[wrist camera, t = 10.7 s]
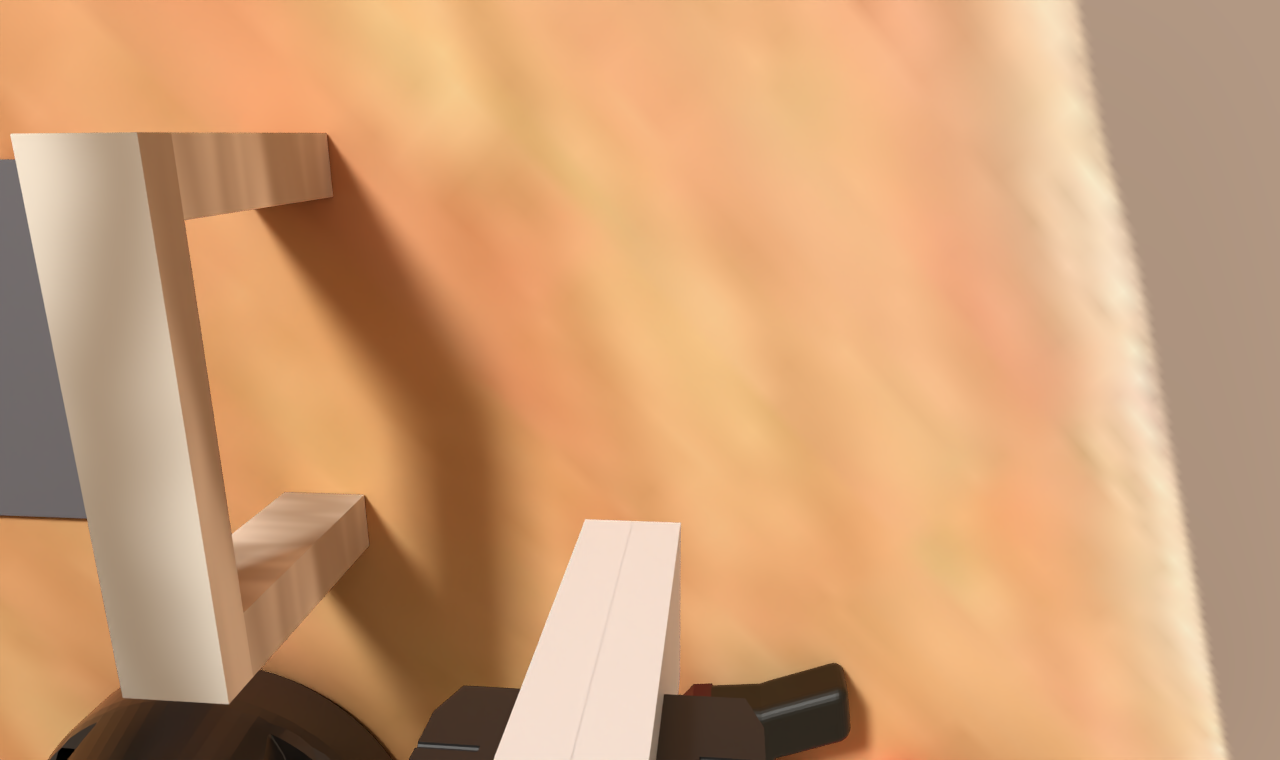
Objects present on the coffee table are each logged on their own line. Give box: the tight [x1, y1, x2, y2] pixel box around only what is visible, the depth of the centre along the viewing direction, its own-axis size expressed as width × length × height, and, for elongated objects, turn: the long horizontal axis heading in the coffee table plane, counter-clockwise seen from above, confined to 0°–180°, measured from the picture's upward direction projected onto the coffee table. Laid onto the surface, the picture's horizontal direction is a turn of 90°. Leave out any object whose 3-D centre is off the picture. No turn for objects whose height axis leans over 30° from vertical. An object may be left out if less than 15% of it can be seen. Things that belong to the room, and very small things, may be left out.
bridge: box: [10, 132, 369, 704], centre depth 25 cm, size 3×14×9 cm, turn 0°
